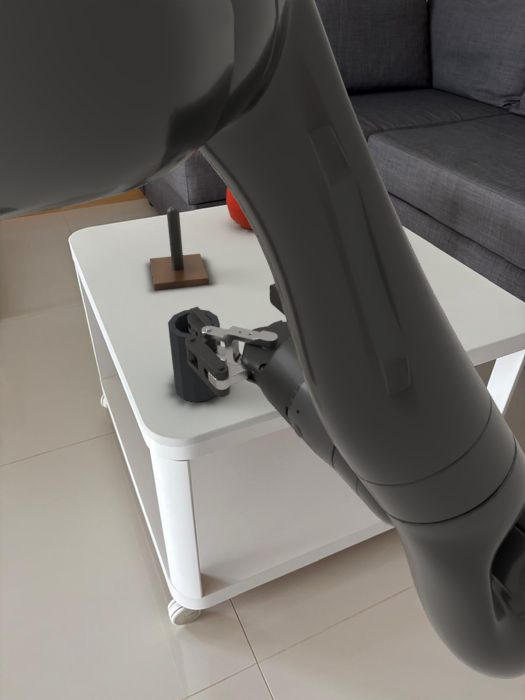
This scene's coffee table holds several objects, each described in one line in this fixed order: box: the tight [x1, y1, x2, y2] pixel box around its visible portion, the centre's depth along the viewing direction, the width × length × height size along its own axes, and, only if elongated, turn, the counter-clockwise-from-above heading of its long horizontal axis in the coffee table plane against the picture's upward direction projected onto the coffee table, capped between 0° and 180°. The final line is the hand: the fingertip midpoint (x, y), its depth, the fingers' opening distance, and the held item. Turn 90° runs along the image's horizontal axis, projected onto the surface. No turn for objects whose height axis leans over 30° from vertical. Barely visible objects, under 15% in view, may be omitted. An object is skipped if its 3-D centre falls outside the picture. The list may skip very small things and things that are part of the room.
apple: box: [225, 186, 253, 230], centre depth 107 cm, size 10×10×12 cm
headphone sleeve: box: [167, 308, 222, 403], centre depth 68 cm, size 6×6×10 cm
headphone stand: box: [149, 205, 209, 291], centre depth 90 cm, size 9×9×12 cm
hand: (234, 303), depth 52 cm, fingers open, 8 cm apart
